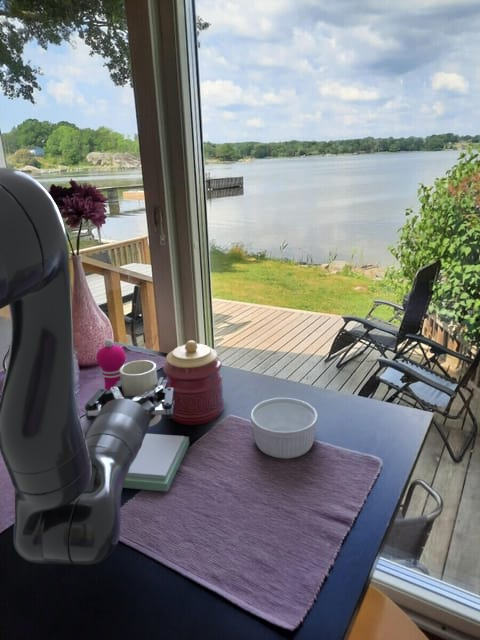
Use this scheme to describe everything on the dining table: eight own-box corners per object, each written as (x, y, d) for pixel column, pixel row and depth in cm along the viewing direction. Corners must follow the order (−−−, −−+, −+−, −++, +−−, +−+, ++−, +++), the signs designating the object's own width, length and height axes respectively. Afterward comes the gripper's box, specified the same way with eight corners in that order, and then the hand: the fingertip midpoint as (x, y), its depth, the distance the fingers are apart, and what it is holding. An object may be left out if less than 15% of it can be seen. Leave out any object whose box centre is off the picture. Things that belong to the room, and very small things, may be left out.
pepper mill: (122, 410, 104) (111, 330, 97) (143, 419, 100) (133, 337, 93) (97, 424, 98) (83, 341, 92) (118, 434, 94) (105, 348, 88)
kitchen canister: (187, 393, 110) (181, 327, 104) (233, 403, 105) (230, 334, 99) (156, 420, 99) (148, 347, 93) (206, 432, 94) (201, 356, 88)
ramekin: (269, 419, 98) (269, 391, 95) (326, 435, 91) (327, 405, 89) (239, 452, 87) (238, 421, 85) (302, 472, 81) (302, 440, 78)
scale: (82, 486, 79) (79, 472, 78) (115, 440, 92) (113, 428, 91) (167, 494, 77) (166, 479, 76) (189, 445, 90) (188, 433, 89)
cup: (121, 427, 75) (113, 374, 72) (134, 409, 81) (128, 359, 78) (154, 429, 74) (148, 376, 71) (166, 411, 80) (160, 360, 77)
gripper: (163, 412, 61) (182, 361, 76) (61, 414, 61) (100, 363, 77) (168, 458, 63) (185, 399, 79) (70, 459, 64) (106, 401, 80)
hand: (143, 382), depth 78 cm, fingers closed on cup, 6 cm apart
